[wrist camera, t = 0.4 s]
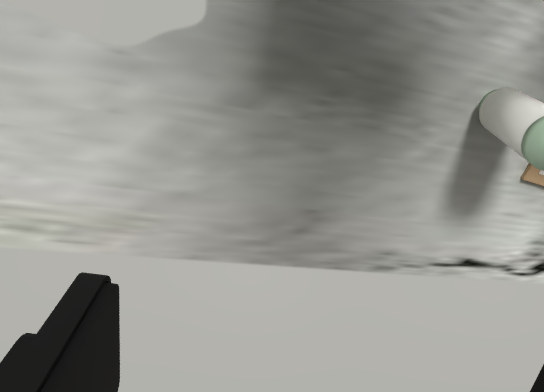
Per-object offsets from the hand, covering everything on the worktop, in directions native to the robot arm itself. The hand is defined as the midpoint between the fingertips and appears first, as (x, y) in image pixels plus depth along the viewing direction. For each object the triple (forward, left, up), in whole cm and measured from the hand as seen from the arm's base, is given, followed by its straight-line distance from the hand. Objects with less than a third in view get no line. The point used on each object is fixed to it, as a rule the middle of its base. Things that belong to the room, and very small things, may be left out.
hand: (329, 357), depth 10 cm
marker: (-2, +18, -34) cm, 39 cm away
